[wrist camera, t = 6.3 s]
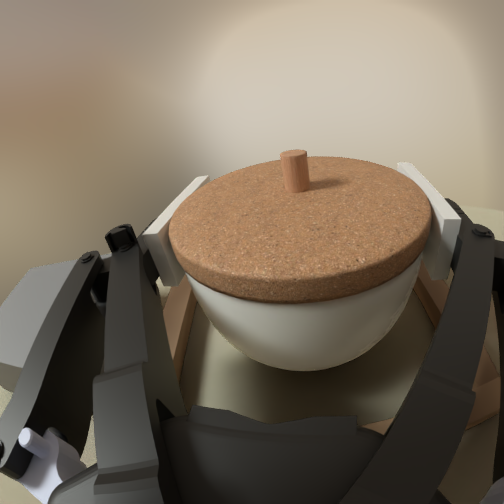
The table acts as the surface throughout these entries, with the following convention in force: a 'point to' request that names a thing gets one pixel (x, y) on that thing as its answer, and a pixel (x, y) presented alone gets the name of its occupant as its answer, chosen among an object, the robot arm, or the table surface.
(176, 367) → the walnut collar
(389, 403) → the table surface
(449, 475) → the table surface
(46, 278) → the gray stand
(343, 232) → the lidded jar
